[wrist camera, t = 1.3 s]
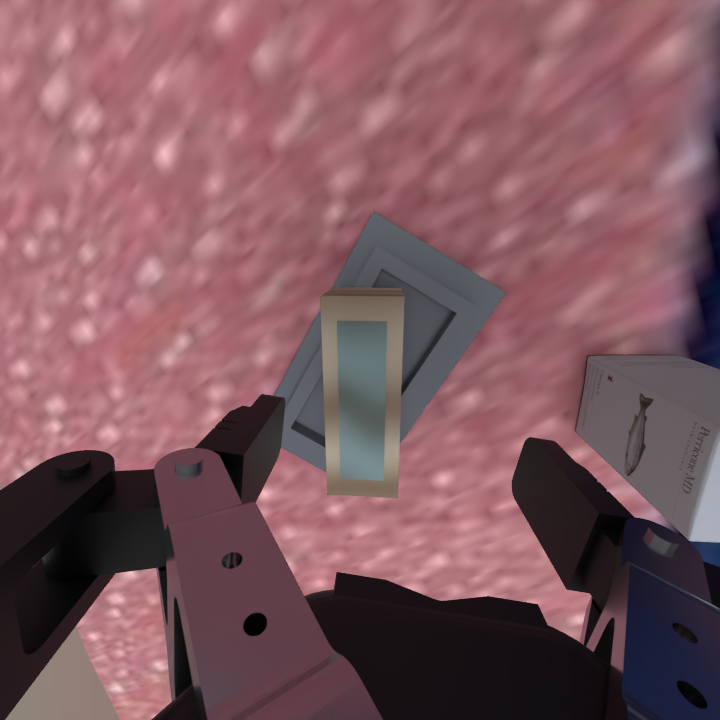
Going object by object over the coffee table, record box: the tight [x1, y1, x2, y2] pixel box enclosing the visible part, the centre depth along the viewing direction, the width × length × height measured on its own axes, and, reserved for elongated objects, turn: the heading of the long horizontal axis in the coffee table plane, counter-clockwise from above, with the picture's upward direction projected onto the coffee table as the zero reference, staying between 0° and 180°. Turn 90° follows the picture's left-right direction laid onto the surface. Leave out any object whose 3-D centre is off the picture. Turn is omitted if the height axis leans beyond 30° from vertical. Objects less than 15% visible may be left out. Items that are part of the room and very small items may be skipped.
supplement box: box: [576, 355, 720, 542], centre depth 24 cm, size 7×7×13 cm
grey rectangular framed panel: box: [275, 211, 506, 471], centre depth 29 cm, size 22×12×3 cm, turn 150°
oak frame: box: [320, 288, 405, 498], centre depth 25 cm, size 14×5×6 cm, turn 0°
